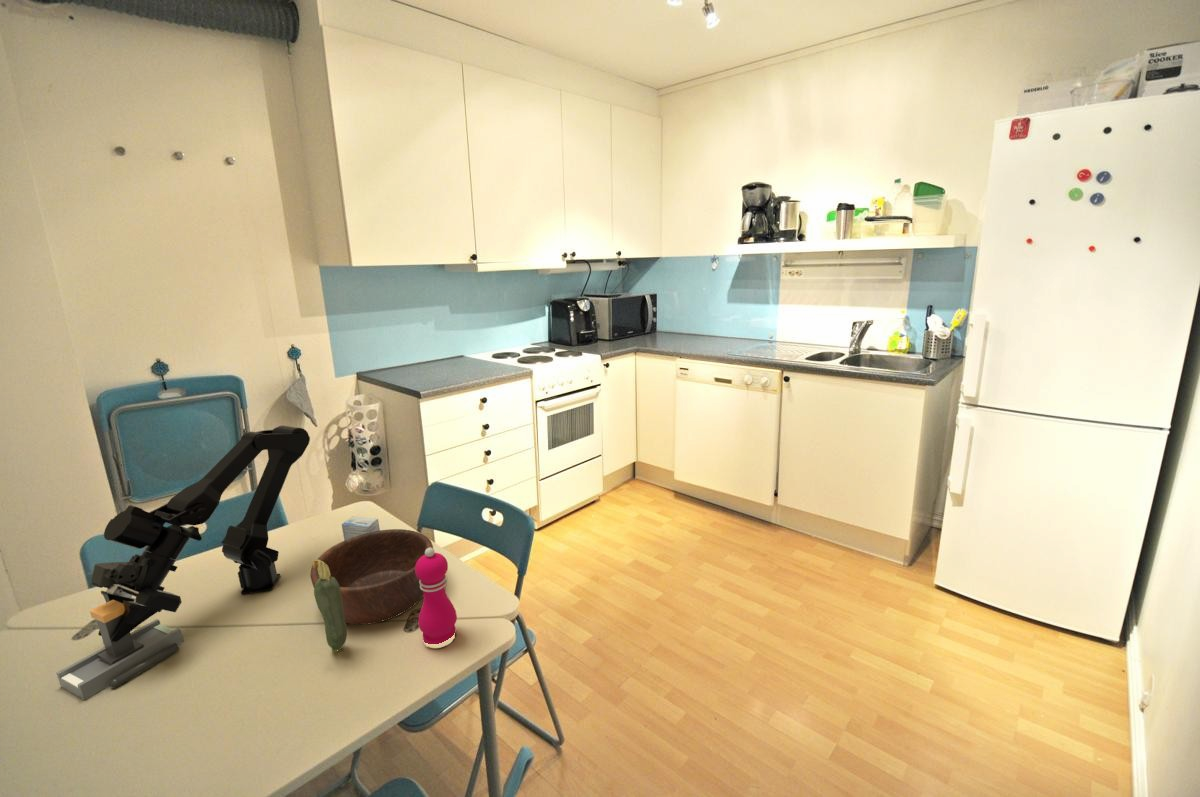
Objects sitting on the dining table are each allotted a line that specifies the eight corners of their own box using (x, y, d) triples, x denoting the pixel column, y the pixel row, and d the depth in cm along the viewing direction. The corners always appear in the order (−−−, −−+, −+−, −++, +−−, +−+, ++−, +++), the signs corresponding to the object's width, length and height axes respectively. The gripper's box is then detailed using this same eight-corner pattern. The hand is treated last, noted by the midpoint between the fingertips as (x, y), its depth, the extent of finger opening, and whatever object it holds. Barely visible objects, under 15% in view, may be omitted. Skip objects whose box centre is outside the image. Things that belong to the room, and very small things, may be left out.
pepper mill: (463, 627, 110) (454, 538, 105) (451, 652, 104) (440, 559, 98) (429, 625, 111) (418, 538, 106) (414, 650, 104) (402, 557, 99)
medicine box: (383, 548, 142) (379, 518, 140) (372, 557, 138) (368, 526, 136) (357, 545, 144) (352, 515, 142) (345, 554, 140) (340, 523, 137)
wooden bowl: (443, 560, 135) (438, 523, 133) (430, 625, 112) (424, 581, 109) (336, 572, 131) (330, 534, 129) (300, 642, 108) (291, 597, 105)
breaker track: (153, 628, 113) (150, 616, 112) (190, 644, 108) (187, 631, 107) (54, 683, 99) (49, 669, 98) (91, 704, 94) (86, 689, 93)
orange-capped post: (129, 641, 106) (116, 597, 103) (144, 648, 104) (131, 603, 101) (98, 658, 101) (84, 612, 99) (113, 665, 99) (98, 619, 97)
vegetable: (355, 647, 106) (340, 555, 100) (338, 662, 102) (321, 568, 97) (337, 642, 107) (321, 552, 102) (320, 657, 103) (302, 564, 98)
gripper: (91, 534, 104) (32, 618, 97) (147, 553, 97) (87, 645, 90) (148, 550, 113) (97, 628, 106) (203, 569, 106) (152, 654, 99)
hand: (107, 638), depth 100 cm, fingers closed on orange-capped post, 4 cm apart
